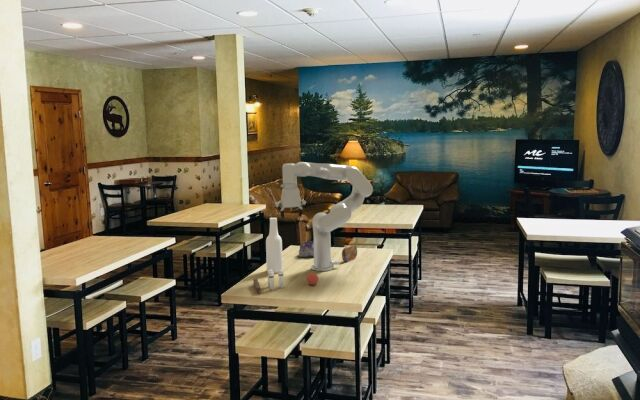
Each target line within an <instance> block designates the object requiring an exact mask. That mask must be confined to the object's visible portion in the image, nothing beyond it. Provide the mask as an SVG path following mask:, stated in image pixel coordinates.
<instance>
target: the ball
mask: <svg viewBox="0 0 640 400" xmlns="http://www.w3.org/2000/svg"><path fill="white" fill-rule="evenodd" d="M306 282H307V284H308V285H311V286H316V285H317V283H318V282H319V276H318V274H317V273H315V272H312V273H311V272H310V273H309V274H308V275H307V276H306Z"/></svg>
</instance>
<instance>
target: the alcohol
mask: <svg viewBox="0 0 640 400" xmlns="http://www.w3.org/2000/svg"><path fill="white" fill-rule="evenodd" d="M265 252H266V254H265V255H266V257H265V258H266V260H265V261H266V272H268V270H273V272H274V274H278V271H279V270H283V269H284V268H283V240H282V237H281V236H280V235H279V230H278V218H277V217H269V233H268V236H267V237H266V239H265ZM283 271H284V270H283Z"/></svg>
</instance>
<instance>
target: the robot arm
mask: <svg viewBox="0 0 640 400" xmlns="http://www.w3.org/2000/svg"><path fill="white" fill-rule="evenodd" d="M281 171H282V184H280V188H282V189H281V195H280V196H281V197H280V200H278V201H277V202H275V204H274V205H275V206H276V208H277V209H278V210H279V211H280V218H281V219H285V211H284V210H285V208H298V210H297V211H298V212H297V213H298V217H300V218H301V217H302V215H303V209H304V207H305V206H306V203H307V200H305V199H302V198H301V195H300V194H301V193H300V189H299V187H298V181H297V180H298V179H297V178H298V177H303V178H305V177H316V178H320V179H324V180H334V181H335V180H336V181H346V182H349V183H350V185H351V186H352V190H351V193H350V195H349V196H347V197H346V198H344V199H343V200H342V201H341V200H340V201H339V202H337V203H336V204H334V205H333V206H331V208H330V209H329V212H328V213H326V212H318V213H316V214H315V215H314V216H313V218H312V221H311V222H312V223H311V224H312V232H313V233H312V234H313V241H314V257H313V265H312V266H311V265H310V266H311V270H313V271H317V272H326V271H327V272H328V271H331V270H334V269H335V268H334V266H335V265H340V261H339V260H338V261H337V260H332V256H331V253H332V251H331V249H332V248H331V246H332V244H331V238H332V237H331V232H333V231H334V230H336V229H338V228H340V227H342V226H343V225H345V224H346V223H347V222H349V220H350V219H351V217H352V213H354V212H355V211H356V210H358V209H359V208H361V206H362V205H363V203H364V201H365V198H368V197H370V196H371V195H372V194H373V191H374V187H373V185H372V184H371V182H370V181H369V180H368V178H366V176H365V175H364V174H363V173H362V171H360V170H359V168H357V167H356V166H352V165H346V164H334V163H317V162H306V161H305V162H304V161H298V162H297V163H292V162H291V163H290V162H289V163H288V162H287V163H283V165H282V169H281ZM280 205H281V206H280Z"/></svg>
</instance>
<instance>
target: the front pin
mask: <svg viewBox="0 0 640 400" xmlns="http://www.w3.org/2000/svg"><path fill="white" fill-rule="evenodd" d="M277 274H278V288H279V289H284V287H285V285H284V270H279V271H278V273H277Z"/></svg>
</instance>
